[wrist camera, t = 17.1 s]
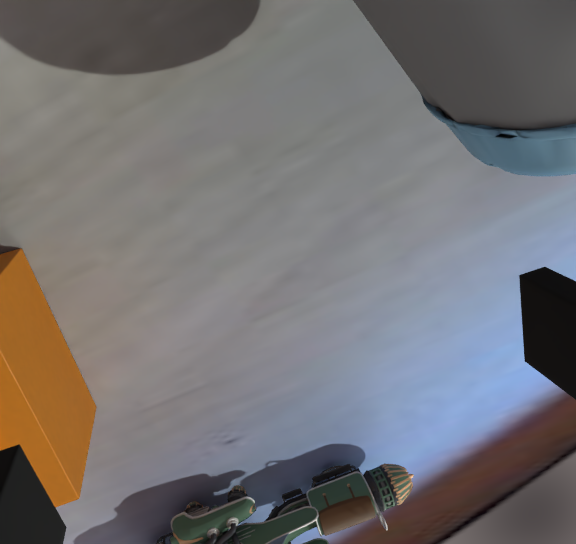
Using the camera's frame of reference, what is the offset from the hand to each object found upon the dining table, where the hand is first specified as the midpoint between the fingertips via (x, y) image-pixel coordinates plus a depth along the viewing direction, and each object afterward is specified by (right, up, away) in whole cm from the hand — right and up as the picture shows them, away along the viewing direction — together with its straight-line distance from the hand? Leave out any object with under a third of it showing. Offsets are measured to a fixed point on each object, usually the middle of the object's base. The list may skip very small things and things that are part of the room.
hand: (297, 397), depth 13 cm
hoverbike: (-1, -18, +36) cm, 40 cm away
